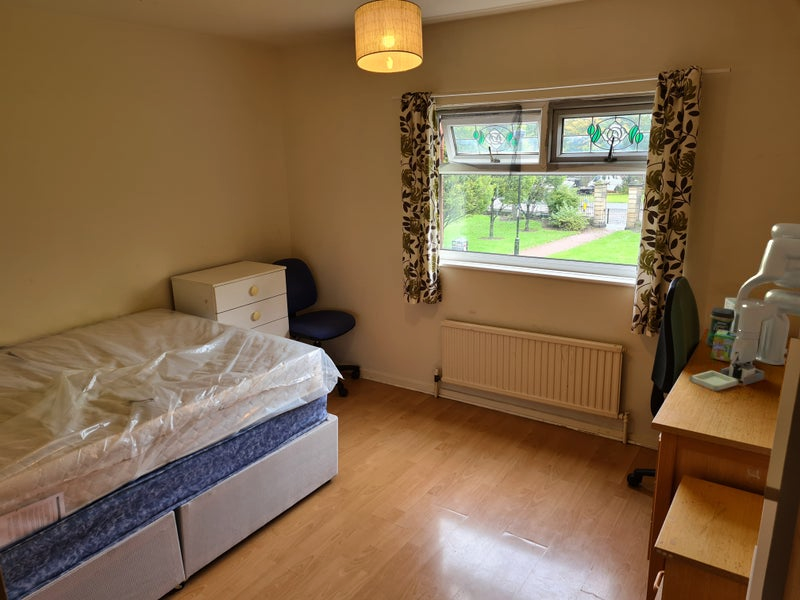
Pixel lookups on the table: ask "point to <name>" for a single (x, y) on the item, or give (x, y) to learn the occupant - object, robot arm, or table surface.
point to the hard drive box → (730, 305)
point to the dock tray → (714, 380)
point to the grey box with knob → (743, 370)
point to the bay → (749, 379)
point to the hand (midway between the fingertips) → (741, 376)
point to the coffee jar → (719, 322)
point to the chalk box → (723, 345)
